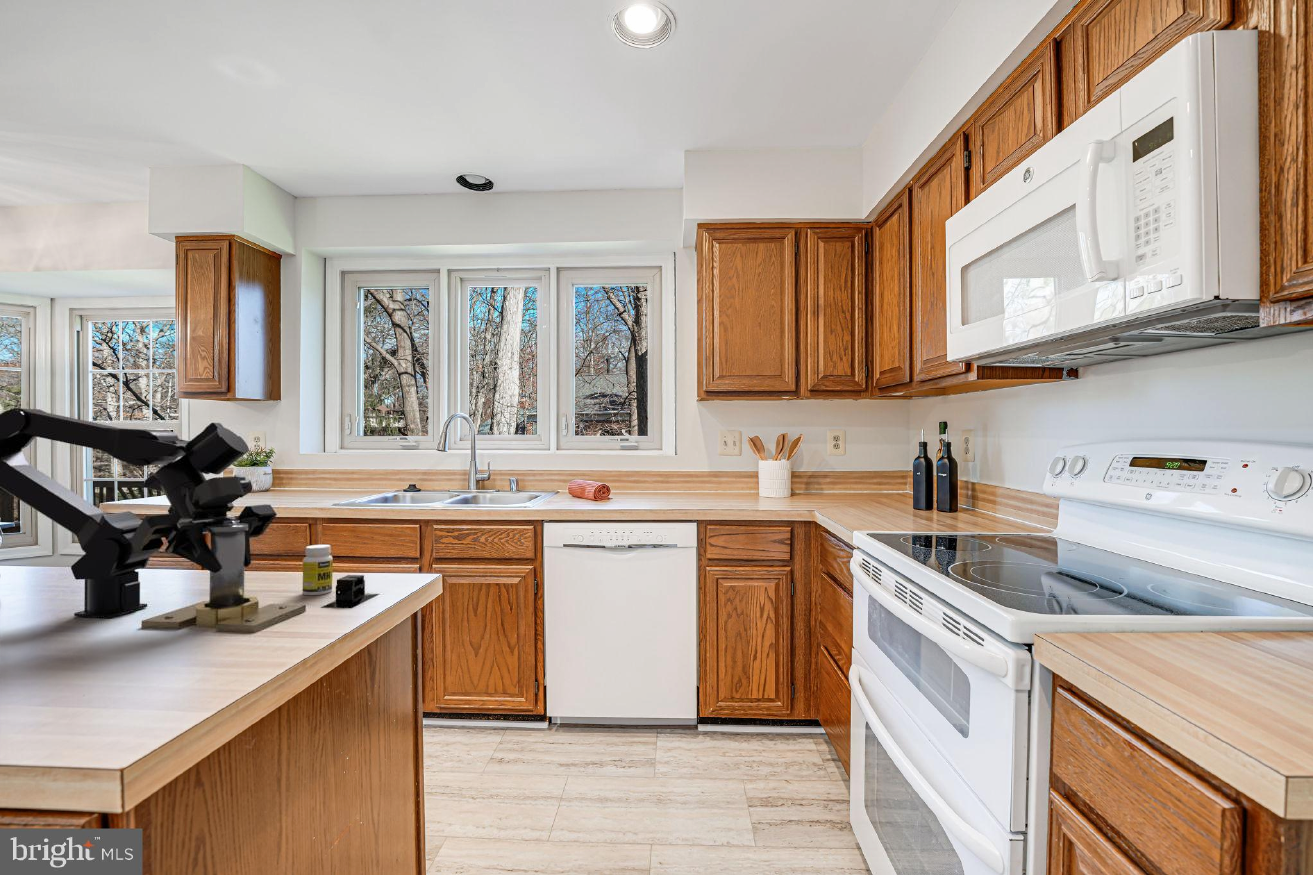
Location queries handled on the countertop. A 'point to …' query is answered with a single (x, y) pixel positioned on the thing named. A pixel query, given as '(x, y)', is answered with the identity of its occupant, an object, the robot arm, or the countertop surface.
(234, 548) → the hinge pin
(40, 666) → the countertop surface
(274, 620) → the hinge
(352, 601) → the black notched mount
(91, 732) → the countertop surface
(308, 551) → the supplement bottle
